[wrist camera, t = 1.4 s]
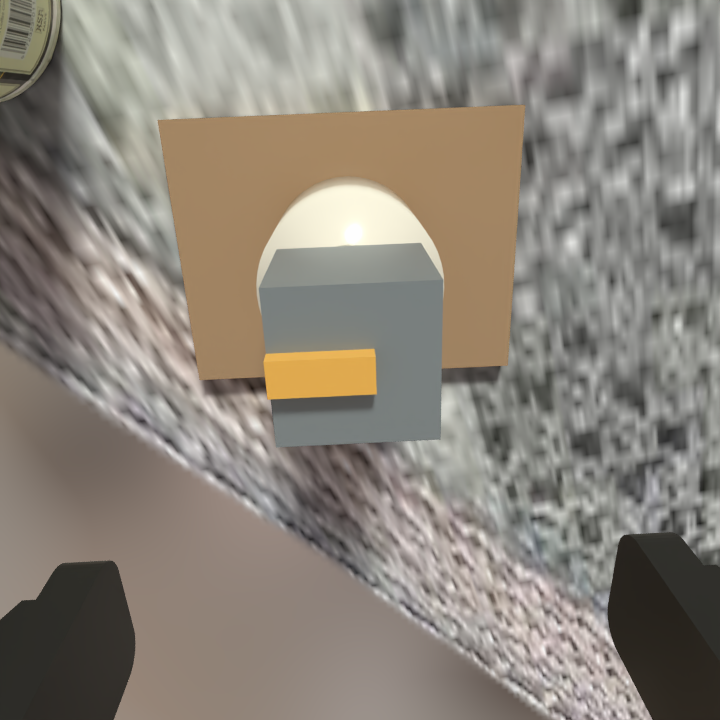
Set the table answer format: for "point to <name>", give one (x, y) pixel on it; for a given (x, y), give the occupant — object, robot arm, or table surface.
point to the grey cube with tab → (353, 344)
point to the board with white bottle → (345, 214)
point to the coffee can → (26, 42)
